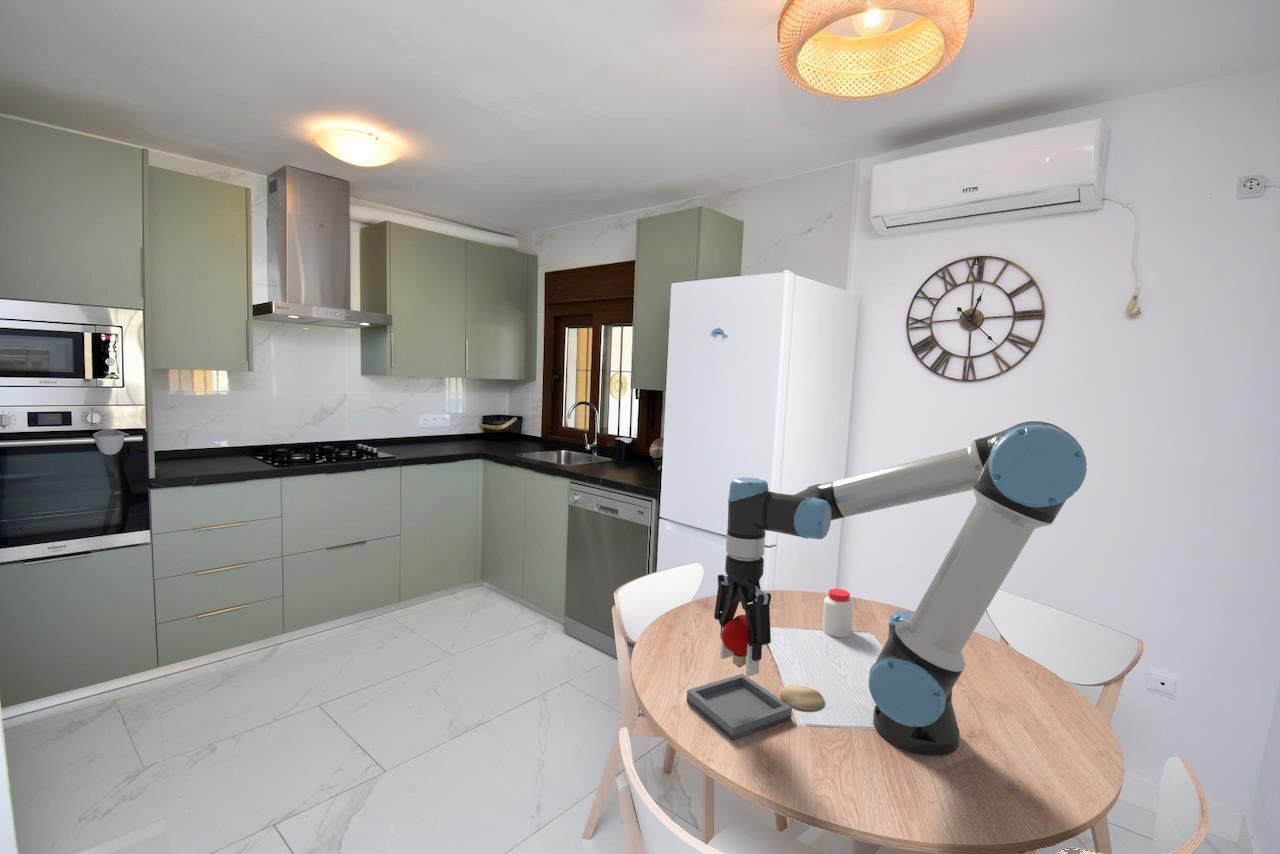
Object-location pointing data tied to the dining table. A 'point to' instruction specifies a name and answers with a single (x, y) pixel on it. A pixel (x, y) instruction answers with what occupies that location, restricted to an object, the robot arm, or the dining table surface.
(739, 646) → the red rounded piece
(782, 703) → the socket dish
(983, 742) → the dining table surface
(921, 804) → the dining table surface
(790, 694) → the cork coaster
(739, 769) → the dining table surface
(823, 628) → the pill bottle
